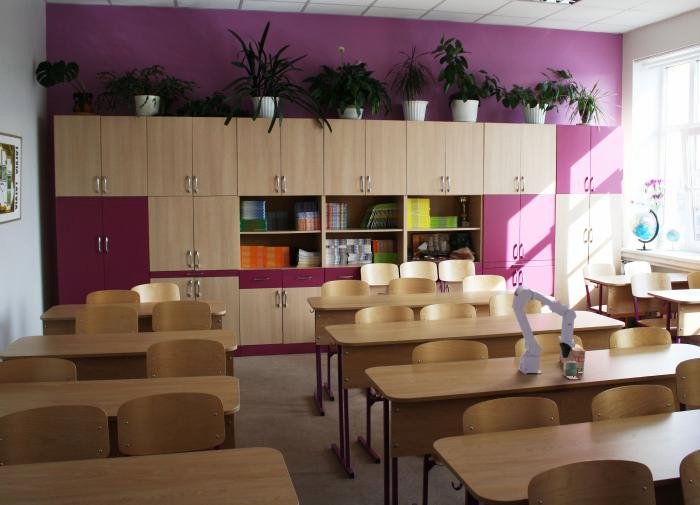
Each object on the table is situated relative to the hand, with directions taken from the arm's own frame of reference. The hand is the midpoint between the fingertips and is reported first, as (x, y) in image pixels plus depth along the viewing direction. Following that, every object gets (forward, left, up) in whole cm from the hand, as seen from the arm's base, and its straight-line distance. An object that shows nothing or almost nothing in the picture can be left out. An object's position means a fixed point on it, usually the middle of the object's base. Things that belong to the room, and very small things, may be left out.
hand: (565, 357), depth 357 cm
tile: (0, -6, -8) cm, 9 cm away
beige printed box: (+8, +9, -8) cm, 15 cm away
